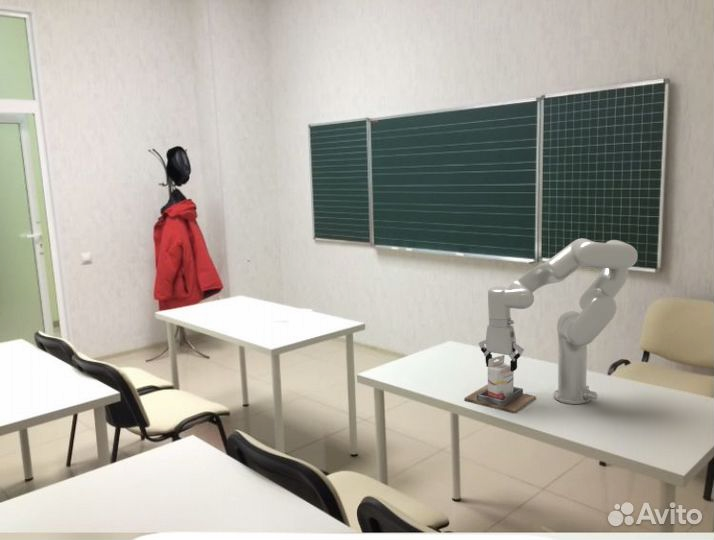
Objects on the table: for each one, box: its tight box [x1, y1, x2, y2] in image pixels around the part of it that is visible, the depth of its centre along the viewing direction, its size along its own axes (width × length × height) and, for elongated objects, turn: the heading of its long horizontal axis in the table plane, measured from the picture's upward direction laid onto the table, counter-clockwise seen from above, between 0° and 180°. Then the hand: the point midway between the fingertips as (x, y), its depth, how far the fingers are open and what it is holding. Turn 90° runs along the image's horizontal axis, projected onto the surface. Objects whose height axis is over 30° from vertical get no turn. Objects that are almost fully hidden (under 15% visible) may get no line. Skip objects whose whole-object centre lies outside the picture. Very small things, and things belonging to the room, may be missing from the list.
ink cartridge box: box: [487, 354, 515, 400], centre depth 220 cm, size 9×5×15 cm, turn 123°
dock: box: [464, 384, 537, 414], centre depth 221 cm, size 20×16×3 cm
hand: (501, 368), depth 219 cm, fingers open, 9 cm apart
